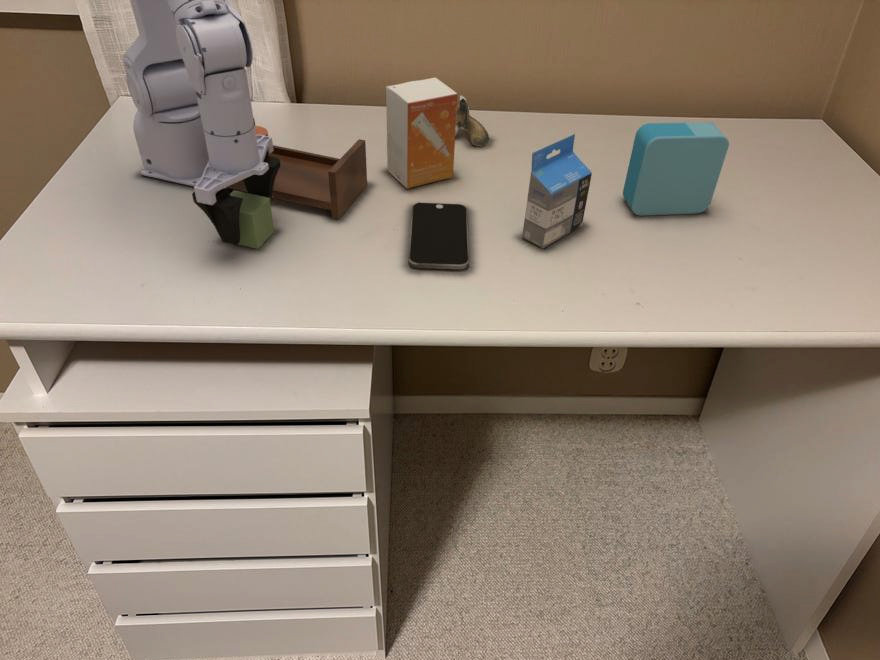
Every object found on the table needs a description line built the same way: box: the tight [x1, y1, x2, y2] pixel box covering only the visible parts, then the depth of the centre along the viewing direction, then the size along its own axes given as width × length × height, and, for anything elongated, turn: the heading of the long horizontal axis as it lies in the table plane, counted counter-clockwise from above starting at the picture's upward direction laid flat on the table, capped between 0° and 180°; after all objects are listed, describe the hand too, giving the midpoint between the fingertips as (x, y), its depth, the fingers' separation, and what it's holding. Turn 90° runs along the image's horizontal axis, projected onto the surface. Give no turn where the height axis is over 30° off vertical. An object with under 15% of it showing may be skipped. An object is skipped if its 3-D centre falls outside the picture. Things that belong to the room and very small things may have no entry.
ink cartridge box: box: [521, 133, 593, 249], centre depth 95 cm, size 9×4×12 cm, turn 137°
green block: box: [230, 189, 275, 250], centre depth 92 cm, size 5×4×5 cm
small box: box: [385, 77, 458, 190], centre depth 104 cm, size 8×6×13 cm
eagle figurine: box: [455, 95, 490, 148], centre depth 117 cm, size 8×7×9 cm
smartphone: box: [408, 202, 470, 270], centre depth 96 cm, size 8×1×15 cm
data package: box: [622, 121, 730, 217], centre depth 102 cm, size 12×4×12 cm, turn 100°
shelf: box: [225, 117, 368, 220], centre depth 101 cm, size 10×18×7 cm, turn 74°
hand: (246, 226), depth 93 cm, fingers open, 7 cm apart
